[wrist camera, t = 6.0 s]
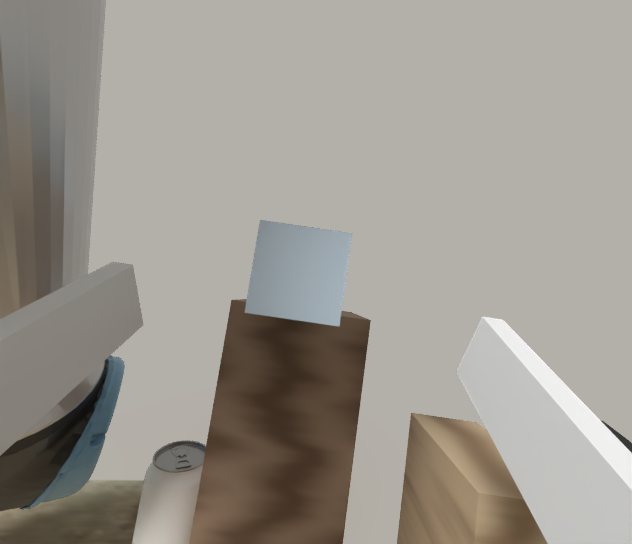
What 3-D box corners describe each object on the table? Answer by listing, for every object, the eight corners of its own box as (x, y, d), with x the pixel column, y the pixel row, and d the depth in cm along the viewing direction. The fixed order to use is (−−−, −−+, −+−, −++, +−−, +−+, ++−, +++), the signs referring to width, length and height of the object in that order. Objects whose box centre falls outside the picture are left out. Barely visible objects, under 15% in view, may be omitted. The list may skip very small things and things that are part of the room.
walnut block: (146, 788, 16) (231, 299, 19) (209, 603, 26) (259, 298, 29) (308, 813, 16) (370, 320, 19) (310, 618, 26) (351, 312, 29)
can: (189, 537, 33) (207, 435, 34) (198, 590, 27) (219, 466, 28) (125, 557, 30) (148, 443, 31) (120, 622, 24) (147, 480, 25)
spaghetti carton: (339, 326, 11) (352, 233, 12) (244, 312, 11) (260, 220, 12) (322, 306, 33) (327, 274, 34) (290, 302, 33) (295, 270, 34)
